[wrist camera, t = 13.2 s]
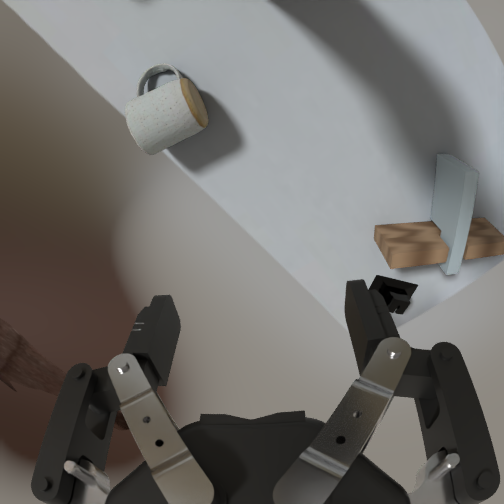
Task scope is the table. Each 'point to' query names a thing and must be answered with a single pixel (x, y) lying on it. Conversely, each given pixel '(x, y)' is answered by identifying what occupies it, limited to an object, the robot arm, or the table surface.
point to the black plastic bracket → (394, 292)
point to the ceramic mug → (165, 112)
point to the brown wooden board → (433, 243)
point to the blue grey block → (453, 206)
